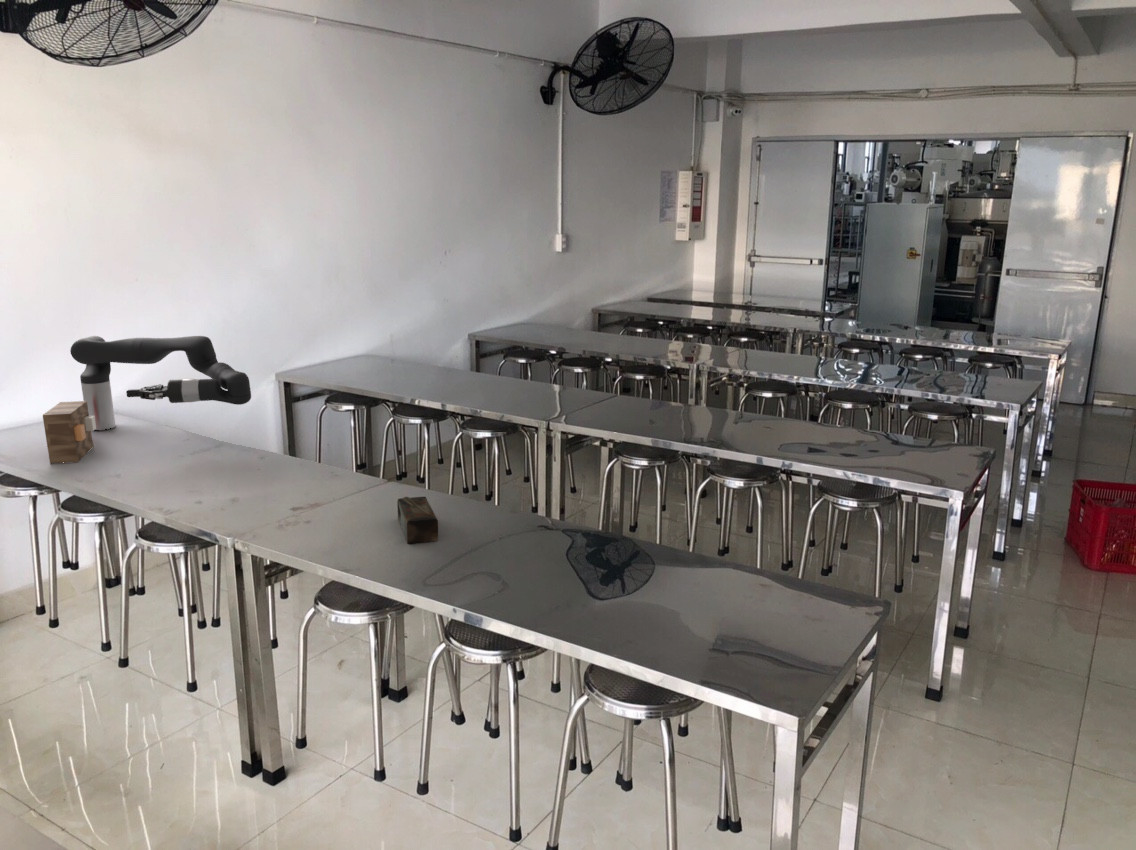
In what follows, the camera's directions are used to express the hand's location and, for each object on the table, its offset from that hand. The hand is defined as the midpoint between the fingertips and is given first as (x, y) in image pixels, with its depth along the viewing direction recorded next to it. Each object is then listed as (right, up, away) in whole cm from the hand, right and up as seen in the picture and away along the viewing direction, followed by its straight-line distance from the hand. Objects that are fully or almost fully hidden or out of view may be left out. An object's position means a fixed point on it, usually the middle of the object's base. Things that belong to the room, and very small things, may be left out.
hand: (127, 393), depth 286 cm
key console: (-21, -20, +7) cm, 30 cm away
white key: (-19, -12, +11) cm, 25 cm away
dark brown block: (+102, -37, -57) cm, 123 cm away
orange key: (-16, -15, 0) cm, 22 cm away
